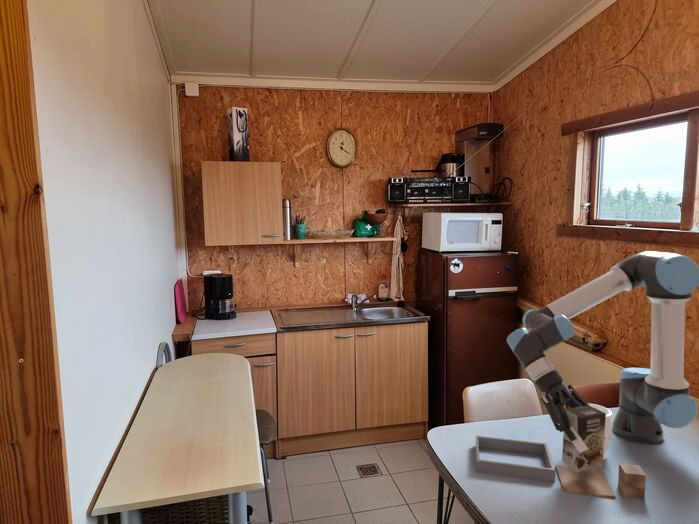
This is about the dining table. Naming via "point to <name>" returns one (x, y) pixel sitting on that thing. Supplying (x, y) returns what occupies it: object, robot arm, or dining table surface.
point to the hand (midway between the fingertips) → (594, 445)
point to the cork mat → (584, 482)
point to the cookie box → (585, 438)
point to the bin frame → (515, 469)
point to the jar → (607, 426)
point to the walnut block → (631, 481)
